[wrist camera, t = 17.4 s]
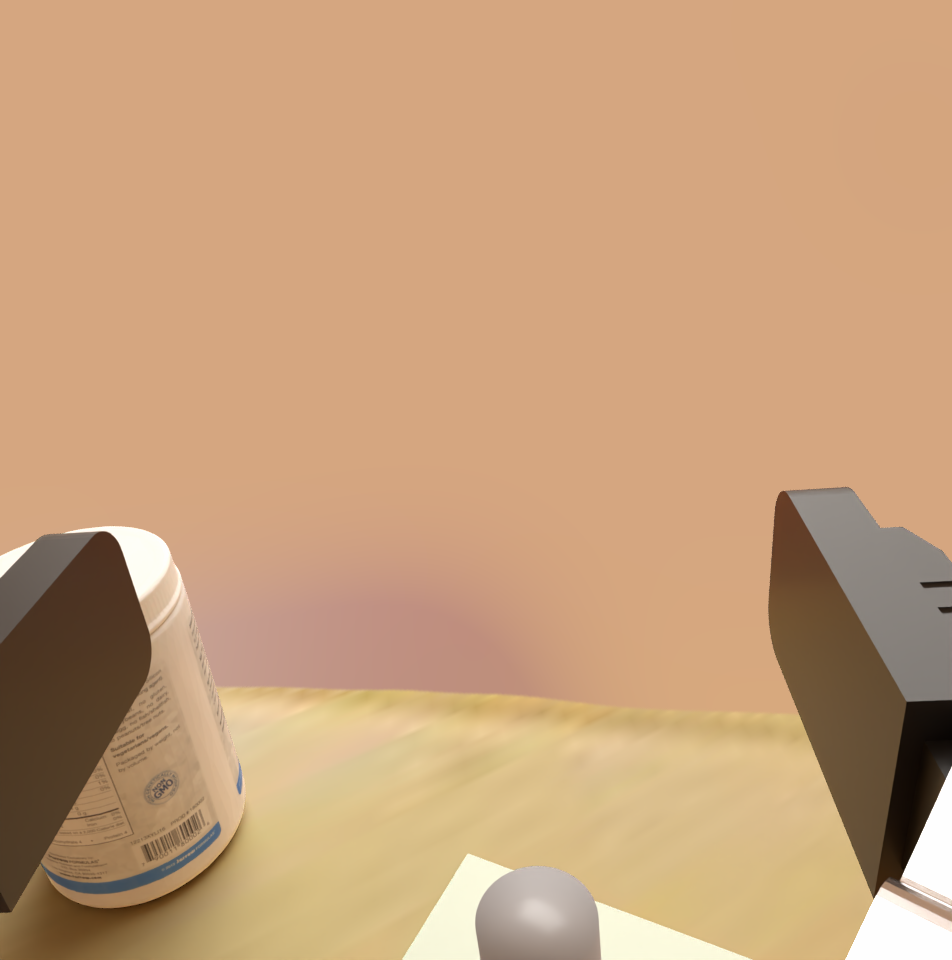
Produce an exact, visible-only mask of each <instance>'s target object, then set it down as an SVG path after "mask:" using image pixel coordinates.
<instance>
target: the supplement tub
mask: <svg viewBox="0 0 952 960" xmlns="http://www.w3.org/2000/svg"><path fill="white" fill-rule="evenodd" d="M94 531H107V532H109V533H111V534H112V535H113V536H114V537H115V538H116V539H117V541H118V542H119V544H120V546H121V549H122V552H123V555H124V558H125V561H126V564H127V567H128V570H129V573H130V576H131V579H132V582H133V585H134V588H135V591H136V594H137V597H138V600H139V603H140V606H141V609H142V612H143V615H144V618H145V621H146V624H147V627H148V630H149V633H150V638H151V647H152V655H151V665H150V670H149V674H148V677H147V679H146V682H145V684H144V686H143V687H142V689H141V691H140V692H139V694H138V696H137V698H136V699H135V701H134V703H133V704H132V706H131V708H130V710H129V711H128V713H127V715H126V716H125V718H124V720H123V722H122V723H121V725H120V727H119V728H118V730H117V732H116V734H115V735H114V737H113V739H112V740H111V742H110V744H109V746H108V747H107V749H106V751H105V752H104V754H103V756H102V758H101V759H100V761H99V763H98V764H97V766H96V768H95V770H94V771H93V773H92V775H91V776H90V778H89V780H88V782H87V783H86V785H85V787H84V788H83V790H82V792H81V794H80V795H79V797H78V799H77V800H76V802H75V804H74V806H73V807H72V809H71V811H70V812H69V814H68V816H67V818H66V819H65V821H64V823H63V824H62V826H61V828H60V830H59V831H58V833H57V835H56V836H55V838H54V840H53V842H52V843H51V845H50V847H49V848H48V850H47V852H46V853H45V855H44V857H43V859H42V860H41V862H40V863H41V865H42V867H43V868H44V870H45V872H46V874H47V876H48V878H49V880H50V882H51V883H52V885H53V886H54V887H55V888H56V889H57V890H58V891H59V892H60V893H61V894H62V895H64V896H65V897H67V898H68V899H70V900H72V901H75V902H77V903H79V904H82V905H87V906H91V907H97V908H119V907H126V906H132V905H137V904H141V903H145V902H148V901H151V900H154V899H156V898H159V897H161V896H163V895H166V894H168V893H170V892H172V891H174V890H176V889H177V888H179V887H181V886H183V885H184V884H186V883H187V882H189V881H190V880H192V879H193V878H194V877H196V876H197V875H198V874H200V873H201V872H202V871H203V870H205V869H206V868H207V867H208V866H209V865H210V864H211V863H212V862H213V861H214V860H215V859H216V858H217V857H218V856H219V855H220V854H221V852H222V851H223V850H224V849H225V847H226V846H227V845H228V843H229V842H230V840H231V839H232V837H233V836H234V834H235V832H236V830H237V828H238V826H239V823H240V821H241V819H242V815H243V811H244V806H245V795H246V794H245V782H244V777H243V773H242V770H241V767H240V763H239V760H238V757H237V754H236V750H235V747H234V744H233V741H232V737H231V734H230V731H229V728H228V725H227V722H226V719H225V715H224V712H223V709H222V706H221V702H220V699H219V696H218V693H217V689H216V686H215V683H214V680H213V677H212V674H211V670H210V667H209V664H208V661H207V658H206V654H205V651H204V648H203V644H202V641H201V638H200V635H199V631H198V628H197V625H196V622H195V618H194V615H193V612H192V609H191V606H190V603H189V600H188V596H187V593H186V590H185V587H184V584H183V581H182V578H181V575H180V572H179V570H178V569H177V567H176V566H175V565H174V563H173V559H172V556H171V553H170V551H169V548H168V547H167V545H166V544H165V542H164V541H163V540H162V539H160V538H159V537H158V536H156V535H154V534H152V533H150V532H148V531H144V530H141V529H136V528H130V527H114V526H111V527H96V528H88V529H80V530H75V531H71V532H66V533H78V532H94ZM33 543H34V542H33ZM33 543H29V544H27V545H24V546H22V547H19V548H17V549H15V550H12V551H10V552H8V553H6V554H4V555H2V556H0V578H1V577H2V576H3V575H4V573H5V572H6V571H7V570H8V569H9V568H10V567H11V566H12V565H13V564H14V563H15V562H16V561H17V560H18V559H19V558H20V557H21V556H22V555H23V554H24V553H25V552H26V551H27V550H28V549H29V547H30V546H31V545H32V544H33Z"/></svg>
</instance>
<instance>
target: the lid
mask: <svg viewBox="0 0 952 960" xmlns="http://www.w3.org/2000/svg"><path fill="white" fill-rule="evenodd" d="M402 960H752V959H749V958H747V957H744V956H741V955H739V954H736V953H733V952H731V951H728V950H725V949H723V948H720V947H717V946H715V945H712V944H709V943H707V942H704V941H701V940H699V939H696V938H693V937H690V936H688V935H685V934H682V933H680V932H677V931H674V930H672V929H669V928H666V927H664V926H661V925H658V924H656V923H653V922H650V921H648V920H645V919H642V918H640V917H637V916H634V915H631V914H629V913H626V912H623V911H621V910H618V909H615V908H613V907H610V906H607V905H605V904H602V903H599V902H597V901H594V899H593V897H592V895H591V893H590V892H589V891H588V889H587V888H586V887H585V886H584V885H583V884H582V883H581V882H580V881H579V880H578V879H576V878H575V877H574V876H572V875H570V874H568V873H566V872H564V871H562V870H559V869H556V868H551V867H545V866H530V867H524V868H520V869H516V870H514V871H513V870H511V869H508V868H505V867H503V866H500V865H497V864H495V863H492V862H489V861H487V860H484V859H481V858H479V857H476V856H473V855H471V854H467V856H466V857H465V859H464V860H463V862H462V864H461V865H460V867H459V869H458V870H457V872H456V873H455V875H454V877H453V878H452V880H451V881H450V883H449V885H448V886H447V888H446V890H445V891H444V893H443V894H442V896H441V898H440V899H439V901H438V903H437V904H436V906H435V907H434V909H433V911H432V912H431V914H430V915H429V917H428V919H427V920H426V922H425V924H424V925H423V927H422V928H421V930H420V932H419V933H418V935H417V936H416V938H415V940H414V941H413V943H412V945H411V946H410V948H409V949H408V951H407V953H406V954H405V956H404V957H403V959H402Z"/></svg>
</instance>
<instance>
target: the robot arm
mask: <svg viewBox="0 0 952 960" xmlns="http://www.w3.org/2000/svg"><path fill="white" fill-rule="evenodd" d="M773 531H774V532H773V546H772V559H771V574H770V589H769V607H768V608H769V626H770V633H771V639H772V644H773V648H774V651H775V655H776V658H777V660H778V663H779V665H780V668H781V670H782V673H783V675H784V678H785V680H786V683H787V685H788V688H789V690H790V693H791V695H792V698H793V700H794V702H795V705H796V707H797V710H798V713H799V715H800V717H801V720H802V722H803V725H804V727H805V730H806V732H807V735H808V737H809V740H810V742H811V745H812V747H813V750H814V752H815V755H816V757H817V760H818V762H819V765H820V767H821V770H822V772H823V775H824V777H825V779H826V782H827V784H828V787H829V789H830V792H831V794H832V797H833V799H834V802H835V804H836V807H837V809H838V812H839V814H840V817H841V819H842V822H843V824H844V827H845V829H846V832H847V834H848V836H849V839H850V841H851V844H852V846H853V849H854V851H855V854H856V856H857V859H858V861H859V864H860V866H861V869H862V871H863V874H864V876H865V879H866V881H867V884H868V886H869V889H870V891H871V893H872V896H873V898H874V901H873V903H872V905H871V907H870V909H869V911H868V914H867V916H866V918H865V920H864V922H863V924H862V926H861V928H860V931H859V933H858V935H857V937H856V939H855V941H854V943H853V945H852V947H851V950H850V952H849V954H848V956H847V958H846V960H952V562H951V561H950V560H949V559H948V557H947V556H946V555H945V554H944V553H943V551H942V550H940V549H938V548H936V547H935V546H933V545H932V544H930V543H928V542H927V541H925V540H923V539H922V538H920V537H918V536H917V535H915V534H913V533H912V532H910V531H908V530H907V529H905V528H903V527H893V528H880V527H879V525H878V524H877V523H876V521H875V520H874V518H873V517H872V516H871V514H870V513H869V511H868V510H867V509H866V507H865V506H864V505H863V503H862V502H861V500H860V499H859V498H858V496H857V495H856V494H855V492H854V491H853V490H852V489H851V488H849V487H841V488H824V489H808V490H792V491H782V492H780V494H779V495H778V498H777V501H776V506H775V516H774V530H773ZM151 655H152V647H151V638H150V633H149V630H148V627H147V624H146V621H145V618H144V615H143V612H142V609H141V606H140V603H139V600H138V597H137V594H136V591H135V588H134V585H133V582H132V579H131V576H130V573H129V570H128V567H127V564H126V561H125V558H124V555H123V552H122V549H121V546H120V544H119V542H118V541H117V539H116V538H115V537H114V536H113V535H112V534H111V533H109V532H107V531H94V532H78V533H62V534H48V535H44V536H41V537H40V538H39V539H37V540H36V541H35V542H34V543H33V544H32V545H31V546H30V547H29V549H28V550H27V551H26V552H25V553H24V554H23V555H22V556H21V557H20V558H19V559H18V560H17V561H16V562H15V563H14V564H13V565H12V566H11V567H10V568H9V569H8V570H7V571H6V572H5V573H4V575H3V576H2V577H1V578H0V913H8V912H12V910H13V908H14V907H15V905H16V903H17V901H18V900H19V898H20V896H21V895H22V893H23V891H24V889H25V888H26V886H27V884H28V883H29V881H30V879H31V877H32V876H33V874H34V872H35V871H36V869H37V867H38V865H39V864H40V862H41V860H42V859H43V857H44V855H45V853H46V852H47V850H48V848H49V847H50V845H51V843H52V842H53V840H54V838H55V836H56V835H57V833H58V831H59V830H60V828H61V826H62V824H63V823H64V821H65V819H66V818H67V816H68V814H69V812H70V811H71V809H72V807H73V806H74V804H75V802H76V800H77V799H78V797H79V795H80V794H81V792H82V790H83V788H84V787H85V785H86V783H87V782H88V780H89V778H90V776H91V775H92V773H93V771H94V770H95V768H96V766H97V764H98V763H99V761H100V759H101V758H102V756H103V754H104V752H105V751H106V749H107V747H108V746H109V744H110V742H111V740H112V739H113V737H114V735H115V734H116V732H117V730H118V728H119V727H120V725H121V723H122V722H123V720H124V718H125V716H126V715H127V713H128V711H129V710H130V708H131V706H132V704H133V703H134V701H135V699H136V698H137V696H138V694H139V692H140V691H141V689H142V687H143V686H144V684H145V682H146V679H147V677H148V674H149V670H150V665H151Z"/></svg>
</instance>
